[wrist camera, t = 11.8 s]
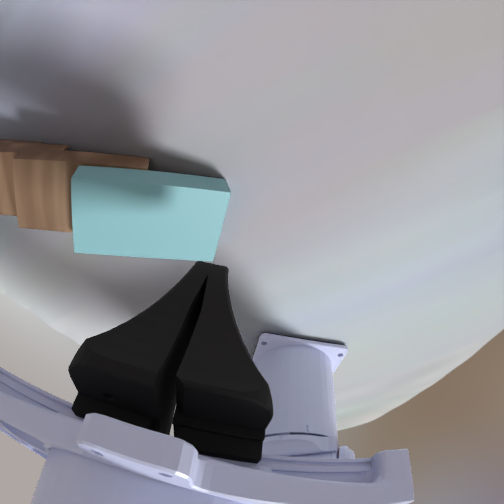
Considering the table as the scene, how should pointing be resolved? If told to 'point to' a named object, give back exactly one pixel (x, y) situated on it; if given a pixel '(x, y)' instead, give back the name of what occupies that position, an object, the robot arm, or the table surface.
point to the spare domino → (147, 213)
